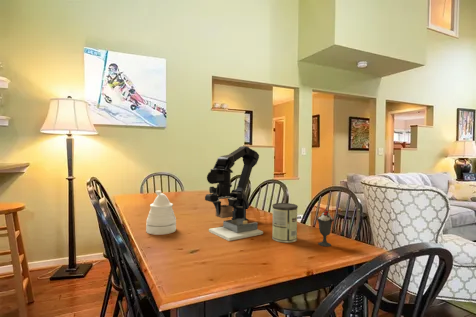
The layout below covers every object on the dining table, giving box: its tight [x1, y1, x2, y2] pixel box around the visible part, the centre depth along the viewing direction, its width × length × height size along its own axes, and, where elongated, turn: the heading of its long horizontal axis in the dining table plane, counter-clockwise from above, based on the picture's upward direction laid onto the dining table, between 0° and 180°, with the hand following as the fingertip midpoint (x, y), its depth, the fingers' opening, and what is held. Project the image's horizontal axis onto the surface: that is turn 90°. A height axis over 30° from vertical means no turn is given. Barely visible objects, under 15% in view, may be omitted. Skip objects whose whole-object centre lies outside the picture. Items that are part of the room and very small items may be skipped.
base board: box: [208, 220, 264, 242], centre depth 123 cm, size 18×16×4 cm
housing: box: [222, 218, 259, 233], centre depth 125 cm, size 11×11×3 cm
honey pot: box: [145, 190, 177, 236], centre depth 124 cm, size 13×13×18 cm
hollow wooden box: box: [215, 204, 233, 219], centre depth 136 cm, size 6×6×5 cm
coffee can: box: [271, 202, 299, 244], centre depth 115 cm, size 10×10×14 cm
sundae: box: [316, 206, 335, 248], centre depth 108 cm, size 7×7×15 cm
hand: (224, 214), depth 136 cm, fingers closed on hollow wooden box, 6 cm apart
